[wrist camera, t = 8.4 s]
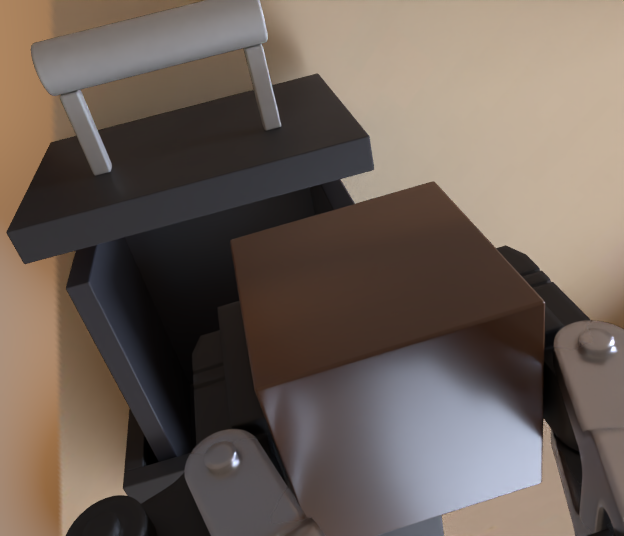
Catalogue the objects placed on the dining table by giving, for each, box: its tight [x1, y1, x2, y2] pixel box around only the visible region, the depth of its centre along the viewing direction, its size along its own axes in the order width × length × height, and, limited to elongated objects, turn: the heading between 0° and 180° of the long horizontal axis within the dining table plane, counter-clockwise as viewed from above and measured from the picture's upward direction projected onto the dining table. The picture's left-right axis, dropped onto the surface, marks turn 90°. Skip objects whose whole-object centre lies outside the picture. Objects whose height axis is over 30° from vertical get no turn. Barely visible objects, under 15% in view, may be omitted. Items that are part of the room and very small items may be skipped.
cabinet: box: [123, 409, 444, 536], centre depth 32 cm, size 16×13×10 cm
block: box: [230, 182, 545, 536], centre depth 12 cm, size 4×4×4 cm
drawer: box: [7, 0, 374, 462], centre depth 24 cm, size 19×11×8 cm, turn 11°
